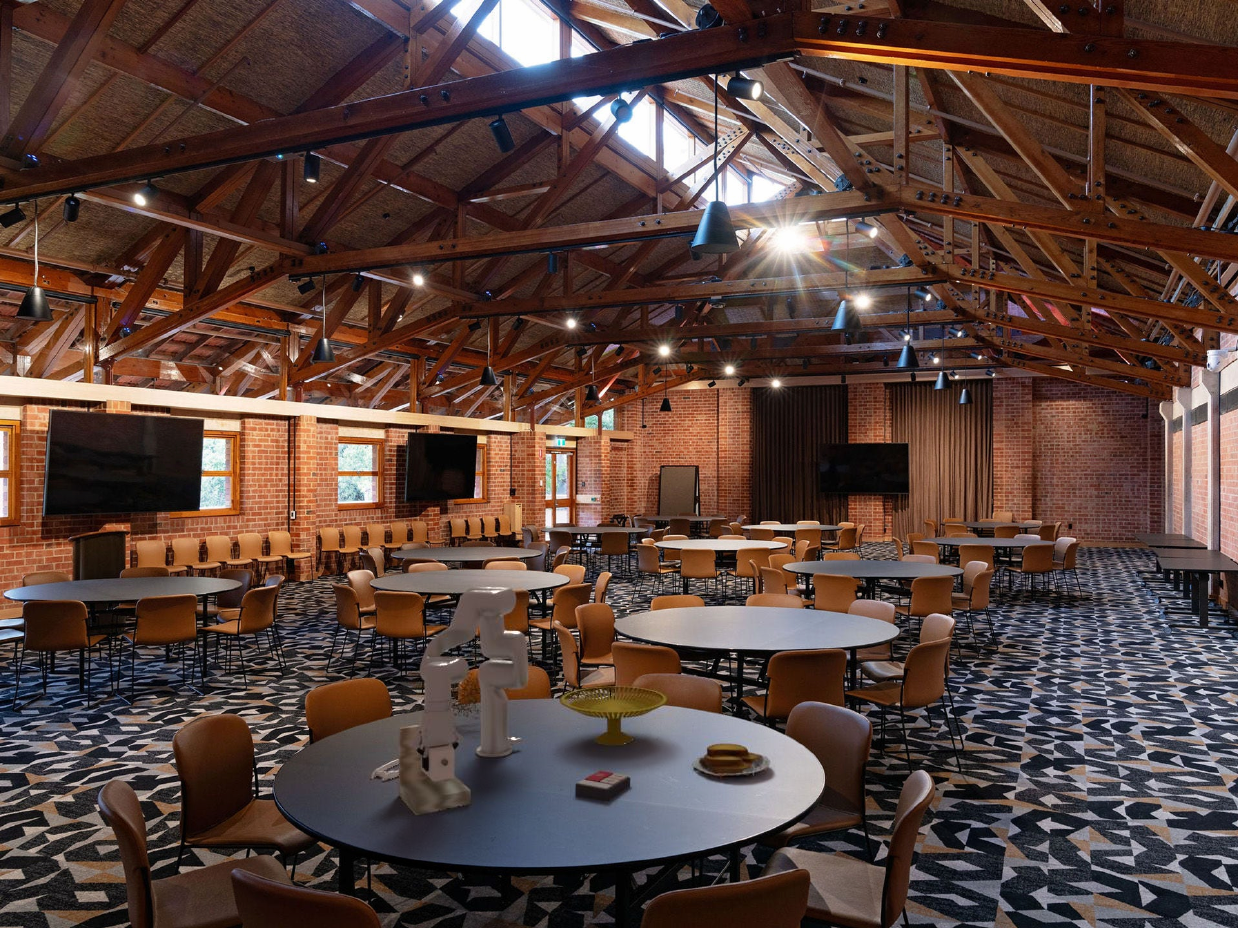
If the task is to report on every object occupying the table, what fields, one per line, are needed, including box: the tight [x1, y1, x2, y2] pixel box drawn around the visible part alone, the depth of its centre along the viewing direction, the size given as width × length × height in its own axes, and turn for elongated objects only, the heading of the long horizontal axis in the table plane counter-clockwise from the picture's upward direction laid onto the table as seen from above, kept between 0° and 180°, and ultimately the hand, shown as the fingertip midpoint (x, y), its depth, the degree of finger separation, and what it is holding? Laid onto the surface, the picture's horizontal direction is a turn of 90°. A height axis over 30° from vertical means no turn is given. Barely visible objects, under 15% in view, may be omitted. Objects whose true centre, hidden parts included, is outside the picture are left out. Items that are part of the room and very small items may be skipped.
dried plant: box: [451, 656, 534, 720], centre depth 317 cm, size 30×31×45 cm
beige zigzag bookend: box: [398, 724, 472, 816], centre depth 237 cm, size 16×18×20 cm
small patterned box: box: [574, 770, 631, 803], centre depth 243 cm, size 11×4×15 cm
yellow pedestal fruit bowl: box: [558, 685, 669, 746], centre depth 295 cm, size 40×40×15 cm
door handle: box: [370, 758, 399, 782], centre depth 265 cm, size 3×10×25 cm
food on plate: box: [691, 743, 771, 781], centre depth 263 cm, size 26×25×7 cm
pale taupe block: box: [421, 744, 455, 781], centre depth 234 cm, size 6×13×8 cm, turn 30°
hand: (437, 767), depth 234 cm, fingers closed on pale taupe block, 6 cm apart
